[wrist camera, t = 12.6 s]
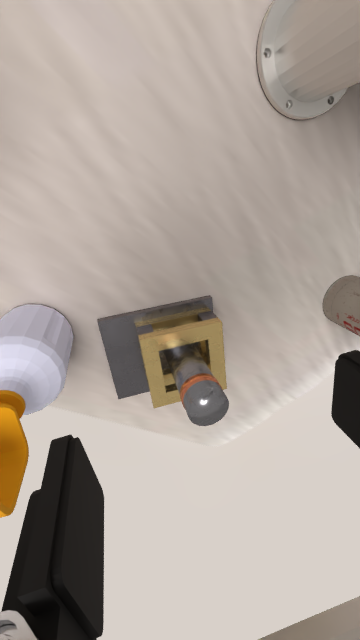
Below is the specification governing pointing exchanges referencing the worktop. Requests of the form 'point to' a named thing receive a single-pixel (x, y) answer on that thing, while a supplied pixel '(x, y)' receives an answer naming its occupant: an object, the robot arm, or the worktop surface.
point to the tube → (196, 385)
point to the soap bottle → (27, 384)
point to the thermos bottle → (344, 303)
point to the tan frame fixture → (160, 346)
